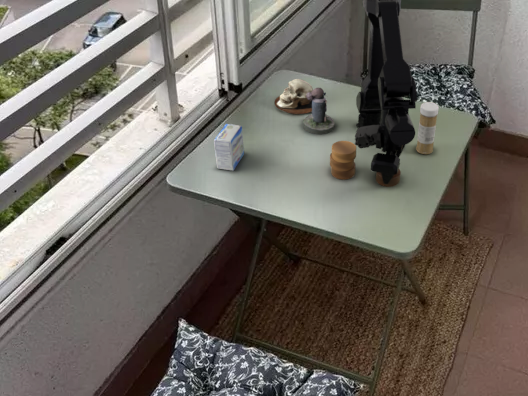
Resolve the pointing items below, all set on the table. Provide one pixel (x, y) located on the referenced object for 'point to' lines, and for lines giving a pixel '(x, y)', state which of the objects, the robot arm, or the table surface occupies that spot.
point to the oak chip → (343, 151)
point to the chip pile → (342, 169)
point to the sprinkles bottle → (427, 127)
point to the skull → (295, 98)
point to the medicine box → (229, 147)
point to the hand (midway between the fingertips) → (388, 176)
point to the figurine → (318, 114)
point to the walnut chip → (393, 181)
